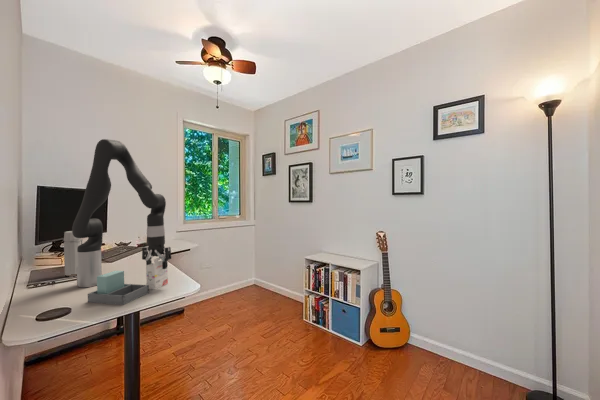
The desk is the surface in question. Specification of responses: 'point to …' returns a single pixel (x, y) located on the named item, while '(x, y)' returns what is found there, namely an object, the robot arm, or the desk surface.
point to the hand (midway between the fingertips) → (157, 268)
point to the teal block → (110, 282)
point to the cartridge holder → (120, 295)
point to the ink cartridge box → (156, 274)
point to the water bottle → (71, 253)
